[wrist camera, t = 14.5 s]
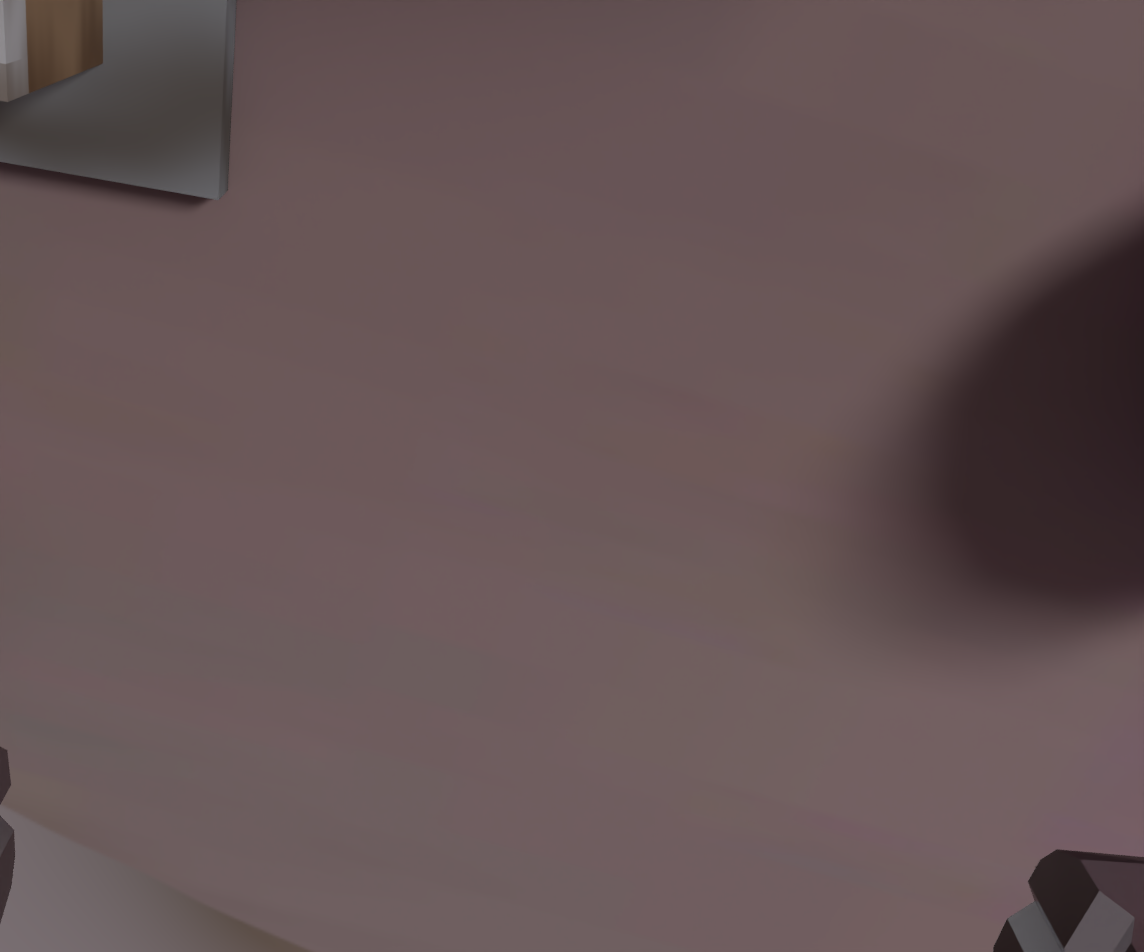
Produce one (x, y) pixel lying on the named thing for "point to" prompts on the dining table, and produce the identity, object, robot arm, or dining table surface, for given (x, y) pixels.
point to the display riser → (120, 90)
